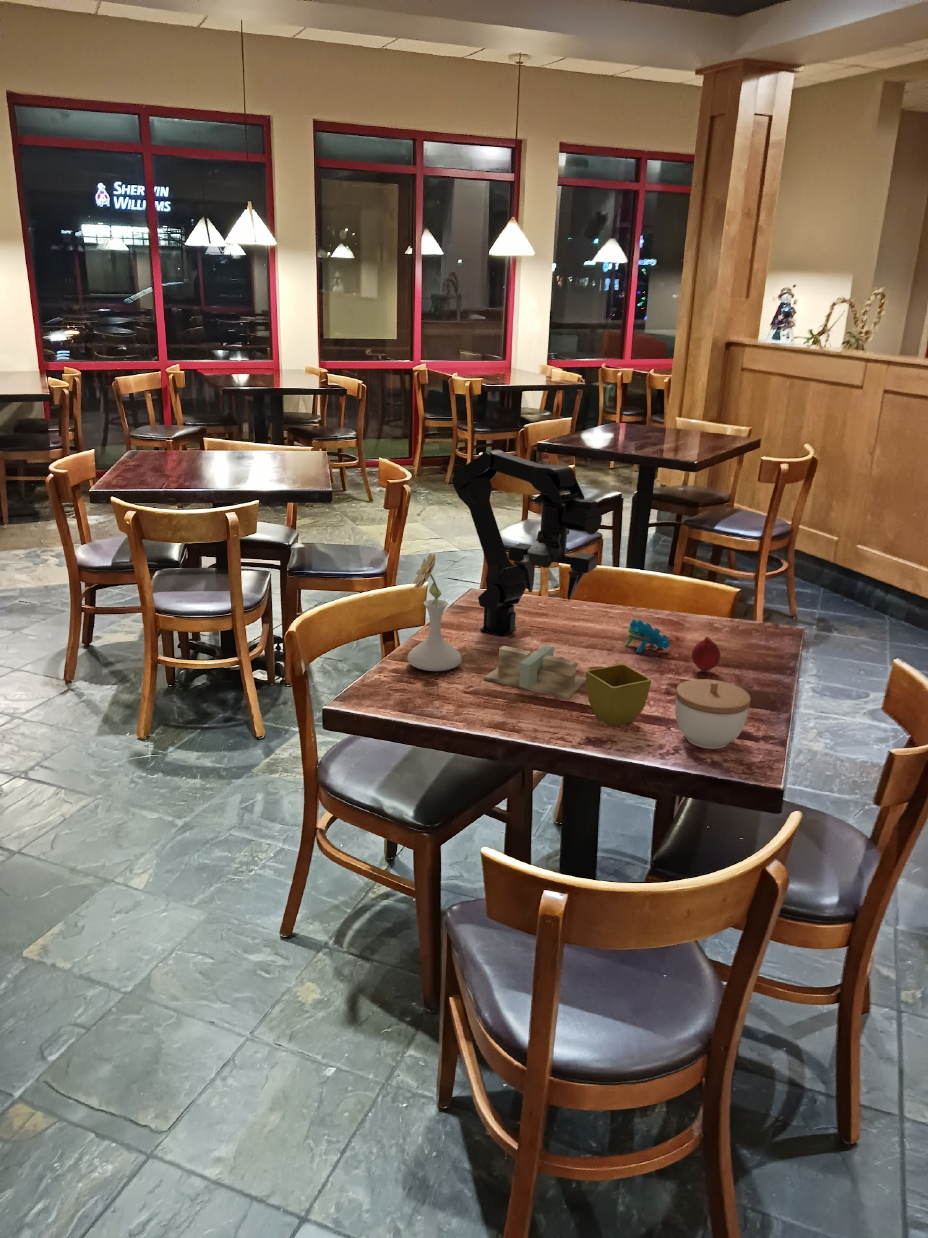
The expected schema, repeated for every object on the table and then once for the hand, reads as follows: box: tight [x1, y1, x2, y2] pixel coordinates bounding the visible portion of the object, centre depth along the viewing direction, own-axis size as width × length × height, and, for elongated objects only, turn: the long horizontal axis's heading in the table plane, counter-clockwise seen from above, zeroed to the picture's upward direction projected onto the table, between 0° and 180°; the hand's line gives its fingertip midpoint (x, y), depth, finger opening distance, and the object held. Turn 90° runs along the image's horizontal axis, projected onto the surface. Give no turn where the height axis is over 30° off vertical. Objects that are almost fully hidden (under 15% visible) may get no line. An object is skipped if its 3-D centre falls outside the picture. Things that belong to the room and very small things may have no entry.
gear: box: [624, 619, 672, 654], centre depth 203 cm, size 11×6×10 cm
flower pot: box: [585, 663, 652, 727], centre depth 168 cm, size 9×9×9 cm
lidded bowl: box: [674, 678, 752, 750], centre depth 161 cm, size 13×13×11 cm
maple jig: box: [484, 645, 586, 700], centre depth 185 cm, size 18×10×6 cm, turn 61°
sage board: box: [518, 644, 555, 690], centre depth 185 cm, size 2×12×5 cm, turn 152°
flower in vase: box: [406, 552, 463, 672], centre depth 187 cm, size 13×11×25 cm
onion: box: [690, 634, 721, 673], centre depth 192 cm, size 6×6×8 cm
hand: (549, 595), depth 200 cm, fingers open, 9 cm apart
